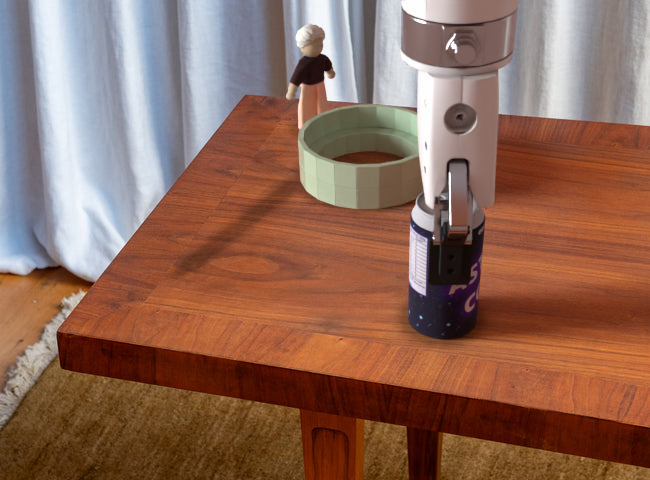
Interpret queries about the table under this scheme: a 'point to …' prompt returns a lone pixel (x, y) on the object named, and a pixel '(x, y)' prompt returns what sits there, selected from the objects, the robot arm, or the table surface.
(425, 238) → the beverage can
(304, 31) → the grandmother figurine
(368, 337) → the table surface
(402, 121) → the green faceted ring
